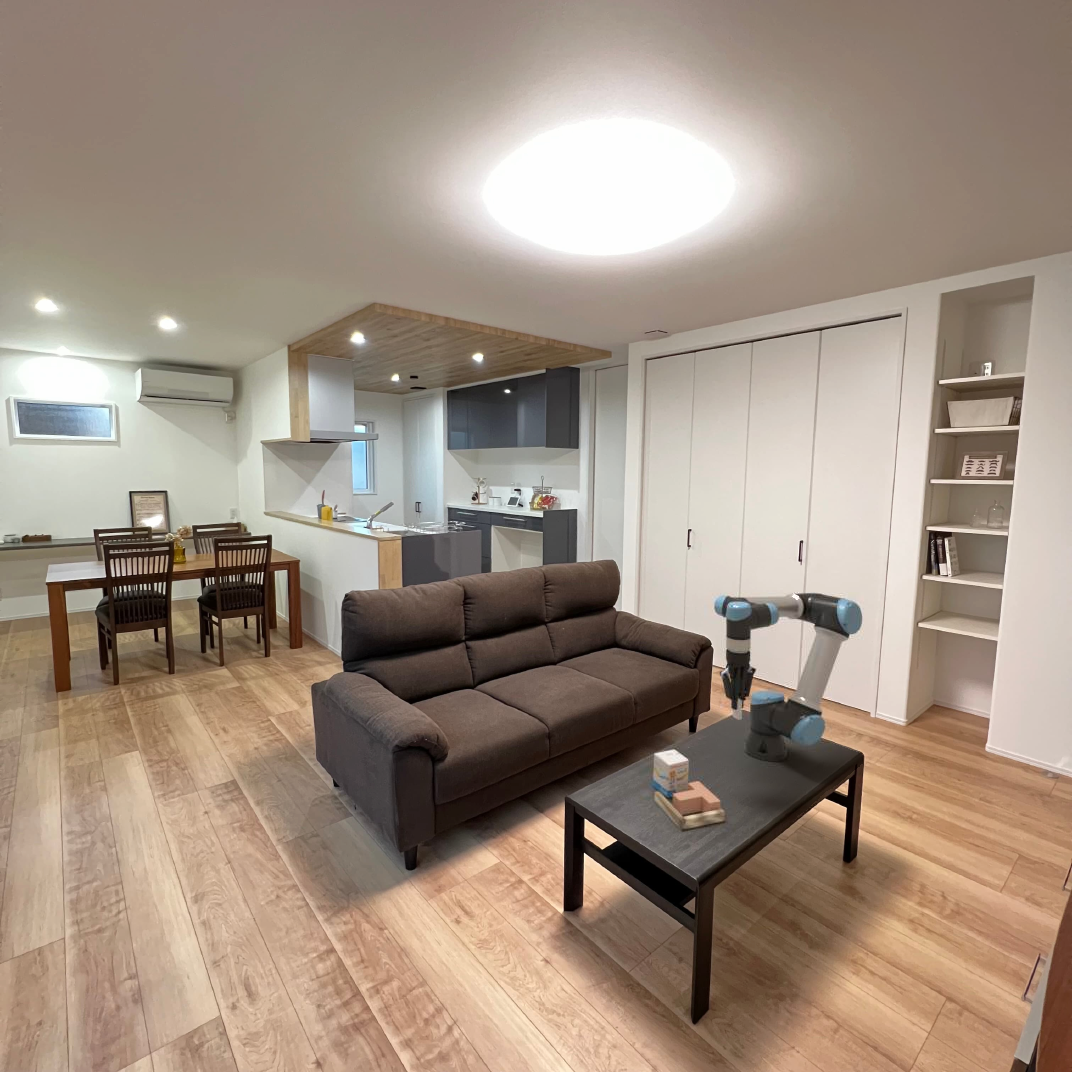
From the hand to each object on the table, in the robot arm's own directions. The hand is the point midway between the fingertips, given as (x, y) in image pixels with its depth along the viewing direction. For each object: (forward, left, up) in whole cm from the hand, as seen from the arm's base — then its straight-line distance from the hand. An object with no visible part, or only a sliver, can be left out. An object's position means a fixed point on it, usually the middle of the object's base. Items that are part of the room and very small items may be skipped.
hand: (737, 717), depth 190 cm
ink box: (+21, -6, -25) cm, 33 cm away
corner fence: (+22, +6, -25) cm, 34 cm away
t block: (+20, +6, -25) cm, 33 cm away
